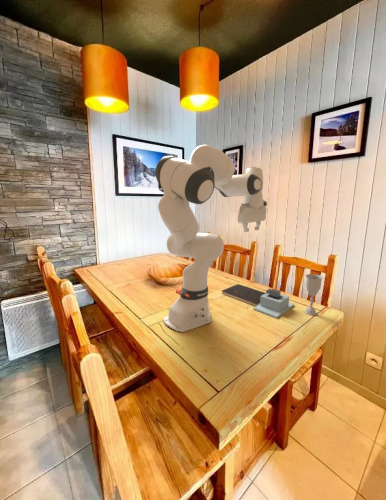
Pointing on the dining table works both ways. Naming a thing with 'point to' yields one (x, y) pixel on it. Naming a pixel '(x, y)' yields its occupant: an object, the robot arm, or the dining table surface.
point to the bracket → (274, 293)
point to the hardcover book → (244, 294)
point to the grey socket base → (273, 305)
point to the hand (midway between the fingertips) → (251, 231)
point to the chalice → (312, 290)
